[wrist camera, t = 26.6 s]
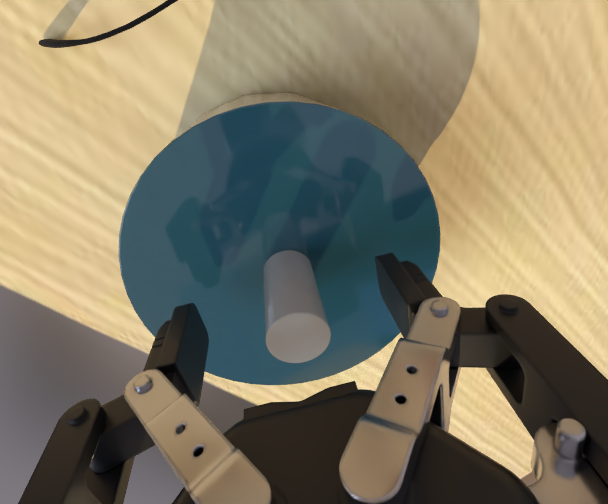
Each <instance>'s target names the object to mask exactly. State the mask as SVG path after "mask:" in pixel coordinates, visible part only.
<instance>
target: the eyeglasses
mask: <svg viewBox="0 0 608 504" xmlns="http://www.w3.org/2000/svg"><path fill="white" fill-rule="evenodd" d="M176 1H177V0H167V1H166V2H164V3H163V4H161V5H160V6H158V7H156V8H155V9H153V10H151V11H150V12H148V13H146V14H144V15H143V16H141V17H139V18H137V19H135V20H134V21H132V22H130V23H128V24H126V25H124V26H121V27H119V28H117V29H114V30H112V31H109V32H107V33H104V34H101V35H98V36H95V37H91V38H87V39H80V40H53V39H44V40H41V41H39V44H40V45H41V46H44V47H51V48H61V47H70V46H77V45H83V44H88V43H93V42H97V41H100V40H103V39H106V38H109V37H111V36H114V35H116V34H118V33H121V32H123V31H125V30H128V29H130V28H132V27H134V26H136V25H138V24H140V23H141V22H143V21H145V20H147V19H149V18H150V17H152V16H154V15H155V14H157V13H158V12H160V11H162V10H163V9H165V8H166V7H168V6H169V5H171V4H173V3H174V2H176Z"/></svg>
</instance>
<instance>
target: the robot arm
mask: <svg viewBox="0 0 608 504" xmlns="http://www.w3.org/2000/svg"><path fill="white" fill-rule="evenodd" d="M375 263H376V270H377V277H378V284H379V289H380V293H381V296H382V299H383V301H384V302H385V304H386V306H387V308H388V310H389V312H390V313H391V315H392V317H393V319H394V321H395V323H396V324H397V326H398V328H399V330H400V332H401V334H402V335H403V337H404V338H400V339H399V340H398V342H397V344H396V347H395V349H394V351H393V353H392V356H391V358H390V360H389V362H388V365H387V367H386V369H385V371H384V374H383V376H382V378H381V380H380V383H379V385H378V387H377V390H376V391H372V390H358V389H357V386H356V383H355V381H353V382H349V383H345V384H341V385H337V386H333V387H329V388H327V389H325V390H323V391H321V392H319V393H317V394H315V395H313V396H311V397H309V398H307V399H305V400H302V401H299V402H271V403H267V404H263V405H259V406H255V407H251V408H247V409H244V419H243V420H241V421H240V422H238V423H236V424H235V425H233V426H232V427H231V428H229V429H228V430H227V431H226V432H225V433H224V434H222V433H221V432H220V431H219V430H218V429H217V428H216V427H215V426H214V425H213V423H212V422H211V421H210V420H209V419H208V418H207V417H206V416H205V415H204V414H203V413H202V411H201V410H200V409H199V408H198V407H197V406H199V402H200V396H201V390H202V383H203V377H204V371H205V365H206V359H207V353H208V346H209V337H208V332H207V329H206V327H205V325H204V323H203V320H202V318H201V316H200V314H199V312H198V309H197V307H196V305H195V304H194V303H189V304H185V305H181V306H177V307H175V308H174V311H173V314H172V317H171V320H168V321H165V323H164V324H163V325H162V326H161V327H160V329H159V330H158V332H157V334H156V337H155V341H154V343H153V346H152V349H151V351H150V354H149V357H148V360H147V362H146V365H145V368H144V371H143V372H142V373H140V374H138V375H137V376H135V377H134V378H133V379H132V380H131V381H130V382H129V383H128V384H127V386H126V388H125V389H124V395H122V396H120V397H118V398H117V399H115V400H112V401H110V402H108V403H106V404H105V405H102V406H101V404H100V403H99V401H97V400H96V399H87V400H83V401H81V402H79V403H77V404H75V405H74V406H72V407H71V408H70V409H68V410H67V411H66V412H65V413H64V414H63V416H62V417H61V418H60V419H59V421H58V423H57V425H56V427H55V429H54V431H53V433H52V435H51V437H50V439H49V442H48V443H47V446H46V448H45V450H44V452H43V454H42V456H41V458H40V460H39V462H38V464H37V466H36V468H35V470H34V472H33V474H32V476H31V478H30V480H29V483H28V485H27V487H26V489H25V491H24V493H23V495H22V497H21V499H20V501H19V503H18V504H123V502H124V497H125V494H126V489H127V485H128V481H129V477H130V473H131V469H132V465H133V460H134V457H135V456H136V455H138V454H139V453H141V452H143V451H145V450H147V449H148V448H150V447H152V446H154V445H156V446H157V447H158V449H159V450H160V452H161V453H162V455H163V456H164V457H165V459H166V460H167V462H168V463H169V465H170V466H171V468H172V469H173V471H174V472H175V474H176V475H177V477H178V478H179V480H180V481H181V483H182V484H183V486H184V488H183V489H182V490H181V492H180V493H179V495H178V496H177V497H176V499H175V500H174V502H173V503H172V504H608V380H607V379H606V378H605V377H604V376H603V375H602V374H601V373H600V372H599V371H598V370H597V369H596V368H595V367H594V366H593V365H592V364H591V363H590V362H589V361H588V360H587V359H586V358H585V357H584V356H583V355H582V354H581V353H580V352H579V351H578V350H577V349H576V348H575V347H574V346H573V345H572V344H571V343H570V342H569V341H568V340H567V339H565V338H564V337H563V336H562V335H561V334H560V333H559V332H558V331H557V330H556V329H555V328H554V327H553V326H552V325H551V324H550V323H549V322H548V321H547V320H546V319H545V318H544V317H543V316H542V315H541V314H540V313H539V312H538V311H537V310H536V309H535V308H534V307H533V306H532V305H531V304H530V303H529V302H527V301H526V300H524V299H523V298H520V297H518V296H514V295H497V296H493V297H491V298H490V299H488V300H487V302H486V308H463V307H460V306H459V304H458V303H457V302H456V301H454V300H452V299H450V298H446V297H442V295H441V294H440V293H439V292H438V290H437V289H436V288H435V287H434V285H433V284H432V283H431V282H430V281H429V279H427V277H426V276H425V274H424V273H423V272H422V271H421V269H420V268H419V267H418V266H417V265H416V264H414V263H412V262H410V261H408V260H406V261H402V262H399V260H398V259H397V257H396V256H395V255H394V253H392V252H391V253H387V254H384V255H380V256H376V257H375ZM461 367H481V368H486V369H487V371H488V372H489V374H490V375H491V377H492V378H493V380H494V381H495V382H496V384H497V385H498V387H499V388H500V390H501V391H502V393H503V394H504V396H505V397H506V399H507V400H508V402H509V403H510V405H511V406H512V408H513V409H514V411H515V412H516V414H517V415H518V417H519V418H520V420H521V421H522V423H523V424H524V426H525V427H526V429H527V430H528V432H529V433H530V435H531V436H532V438H533V439H534V445H533V452H532V458H531V468H532V471H533V474H534V476H535V478H536V480H537V481H536V482H535V483H534V484H532V485H530V486H526V484H525V483H524V482H522V480H521V479H520V478H519V477H517V476H516V475H515V474H514V473H513V472H511V471H510V470H508V469H507V468H505V467H504V466H502V465H501V464H499V463H497V462H496V461H494V460H493V459H491V458H489V457H488V456H486V455H484V454H483V453H481V452H479V451H478V450H476V449H475V448H473V447H471V446H470V445H468V444H466V443H465V442H463V441H462V440H460V439H458V438H457V437H455V436H453V435H452V434H450V433H448V429H449V423H450V413H451V406H452V402H453V398H454V394H455V390H456V386H457V382H458V377H459V373H460V369H461Z"/></svg>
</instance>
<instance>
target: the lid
mask: <svg viewBox="0 0 608 504" xmlns="http://www.w3.org/2000/svg"><path fill="white" fill-rule="evenodd" d="M391 252H392V253H394V255H395V256H396V257H397V259H398V260H399V262H402V261H406V260H408V261H410V262H412V263H414V264H416V265H417V266H418V267H419V268H420V269H421V271H422V272H423V273H424V274H425V276H426V277H427V279H429V281H430V282H431V283H432V281H433V278H434V275H435V272H436V268H437V263H438V257H439V252H440V226H439V218H438V212H437V208H436V205H435V201H434V197H433V194H432V192H431V190H430V188H429V185H428V183H427V181H426V179H425V177H424V175H423V174H422V172H421V171H420V169H419V168H418V166H417V164H416V163H415V161H414V160H413V159H412V158H411V157H410V156H409V154H408V153H407V152H406V151H405V150H404V149H403V148H402V147H401V145H399V144H398V143H397V142H396V141H395V140H393V139H392V138H391V137H390V136H389V135H387V134H386V133H385V132H384V131H382V130H381V129H379V128H377V127H376V126H374V125H372V124H371V123H369V122H367V121H366V120H364V119H362V118H360V117H358V116H355V115H353V114H351V113H348V112H346V111H343V110H341V109H338V108H334V107H331V106H327V105H323V104H319V103H314V102H304V101H295V100H279V101H263V102H257V103H252V104H246V105H241V106H238V107H235V108H232V109H229V110H226V111H223V112H220V113H217V114H215V115H213V116H211V117H209V118H207V119H205V120H203V121H201V122H199V123H197V124H195V125H193V126H192V127H190V128H189V129H188V130H186V131H185V132H183V133H182V134H180V135H179V136H178V137H176V138H175V139H174V140H173V141H172V142H171V143H170V144H168V145H167V146H166V147H165V148H164V149H163V150H162V151H161V152H160V153H159V154H158V155H157V156H156V157H155V158H154V159H153V161H152V162H151V163H150V164H149V166H148V167H147V168H146V170H145V171H144V172H143V174H142V175H141V176H140V178H139V180H138V182H137V184H136V185H135V187H134V189H133V191H132V193H131V195H130V197H129V200H128V203H127V205H126V208H125V211H124V214H123V218H122V223H121V229H120V234H119V261H120V268H121V275H122V279H123V282H124V285H125V289H126V292H127V295H128V297H129V299H130V301H131V303H132V305H133V307H134V310H135V311H136V313H137V314H138V316H139V317H140V319H141V320H142V322H143V323H144V325H145V326H146V327H147V329H148V330H149V331H150V332H151V333H152V334H153V335H154V337H156V334H157V332H158V330H159V329H160V327H161V326H162V325H163V324H164V323H165V321H168V320H171V317H172V314H173V311H174V308H175V307H177V306H181V305H185V304H189V303H194V304H195V305H196V307H197V309H198V312H199V314H200V316H201V318H202V320H203V323H204V325H205V327H206V329H207V332H208V337H209V346H208V353H207V359H206V365H205V372H208V373H210V374H213V375H216V376H219V377H222V378H226V379H229V380H233V381H238V382H244V383H249V384H261V385H287V384H296V383H304V382H309V381H313V380H318V379H322V378H325V377H328V376H331V375H335V374H337V373H340V372H342V371H344V370H347V369H349V368H352V367H353V366H355V365H357V364H359V363H361V362H363V361H365V360H366V359H368V358H369V357H371V356H372V355H374V354H375V353H377V352H378V351H380V350H381V349H382V348H384V347H385V346H386V345H387V344H388V343H390V342H391V341H392V340H393V339H394V338H395V337H396V336H397V335H398V334H399V333H400V330H399V328H398V326H397V324H396V323H395V321H394V319H393V317H392V315H391V313H390V312H389V310H388V308H387V306H386V304H385V302H384V301H383V299H382V296H381V293H380V289H379V284H378V277H377V270H376V263H375V257H376V256H380V255H384V254H387V253H391Z"/></svg>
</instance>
